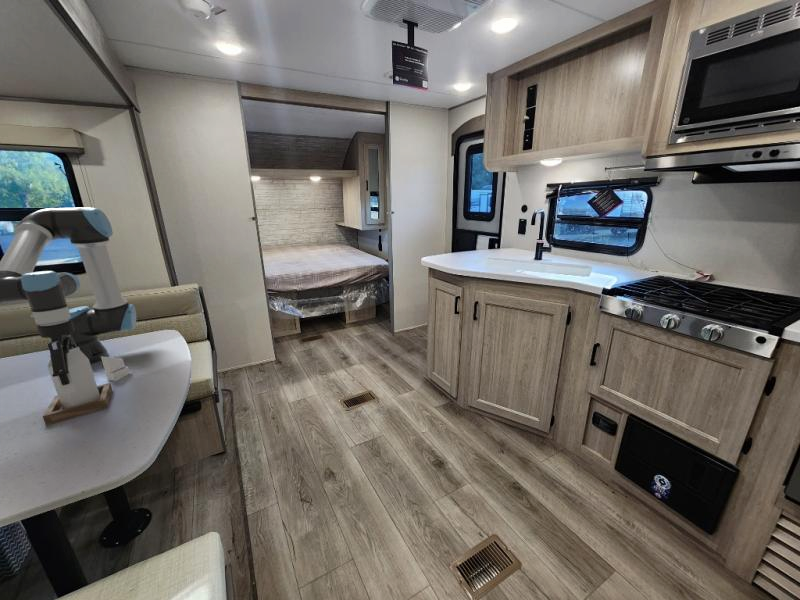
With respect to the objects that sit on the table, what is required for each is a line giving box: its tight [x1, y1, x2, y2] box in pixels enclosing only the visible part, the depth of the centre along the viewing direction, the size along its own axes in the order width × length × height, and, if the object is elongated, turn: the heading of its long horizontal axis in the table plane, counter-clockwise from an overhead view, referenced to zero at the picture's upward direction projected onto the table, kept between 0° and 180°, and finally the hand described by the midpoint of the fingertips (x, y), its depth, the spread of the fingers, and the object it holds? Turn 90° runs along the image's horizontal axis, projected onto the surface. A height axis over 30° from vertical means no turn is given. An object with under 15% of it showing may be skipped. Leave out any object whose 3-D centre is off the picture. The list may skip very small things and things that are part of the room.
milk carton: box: [47, 347, 100, 408], centre depth 104 cm, size 7×7×19 cm
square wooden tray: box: [42, 382, 113, 426], centre depth 105 cm, size 14×14×3 cm
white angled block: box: [101, 356, 131, 382], centre depth 123 cm, size 4×10×9 cm
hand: (74, 384), depth 104 cm, fingers open, 13 cm apart
